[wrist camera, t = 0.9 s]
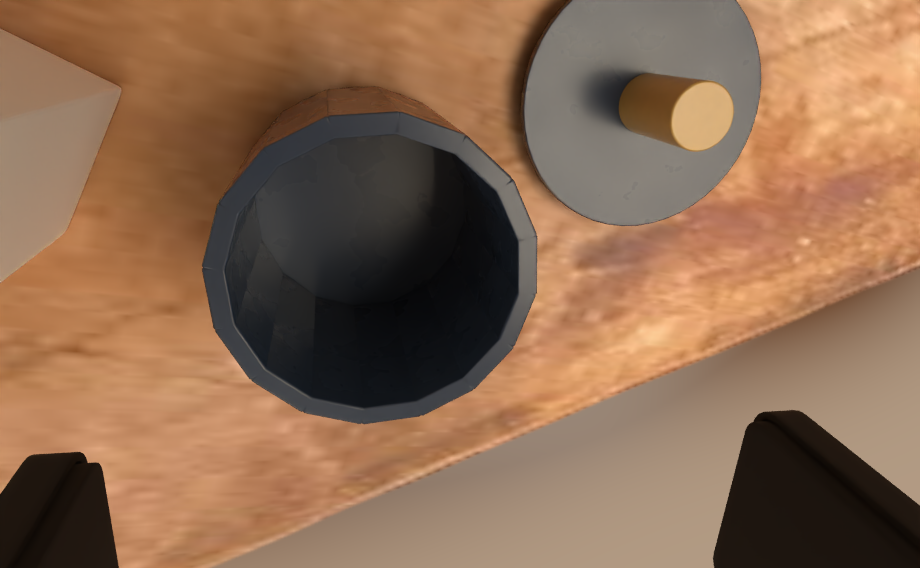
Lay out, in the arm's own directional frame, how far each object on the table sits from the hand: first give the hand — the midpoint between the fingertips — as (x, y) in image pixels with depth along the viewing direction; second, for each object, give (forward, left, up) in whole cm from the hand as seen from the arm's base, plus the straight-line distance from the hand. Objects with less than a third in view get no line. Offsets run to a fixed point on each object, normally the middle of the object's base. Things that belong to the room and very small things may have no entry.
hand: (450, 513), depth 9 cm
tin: (+1, 0, -23) cm, 23 cm away
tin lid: (-8, +11, -22) cm, 26 cm away
